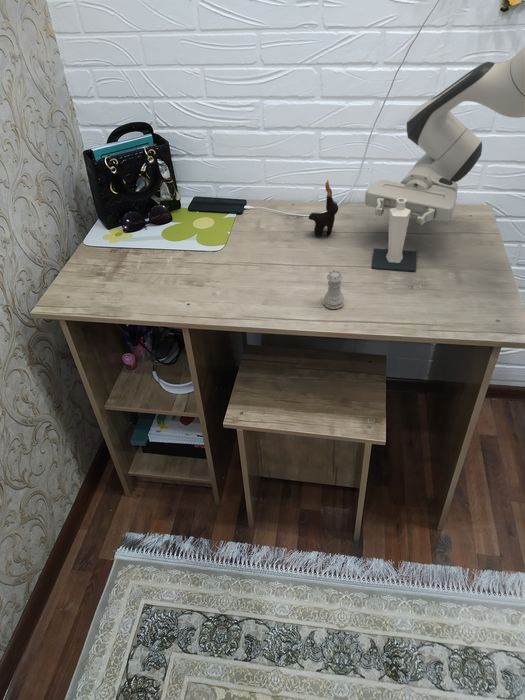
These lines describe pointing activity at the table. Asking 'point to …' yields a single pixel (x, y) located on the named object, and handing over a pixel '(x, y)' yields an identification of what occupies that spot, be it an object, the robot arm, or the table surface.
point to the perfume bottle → (397, 230)
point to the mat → (382, 263)
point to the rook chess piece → (334, 291)
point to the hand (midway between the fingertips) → (398, 216)
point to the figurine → (325, 215)
